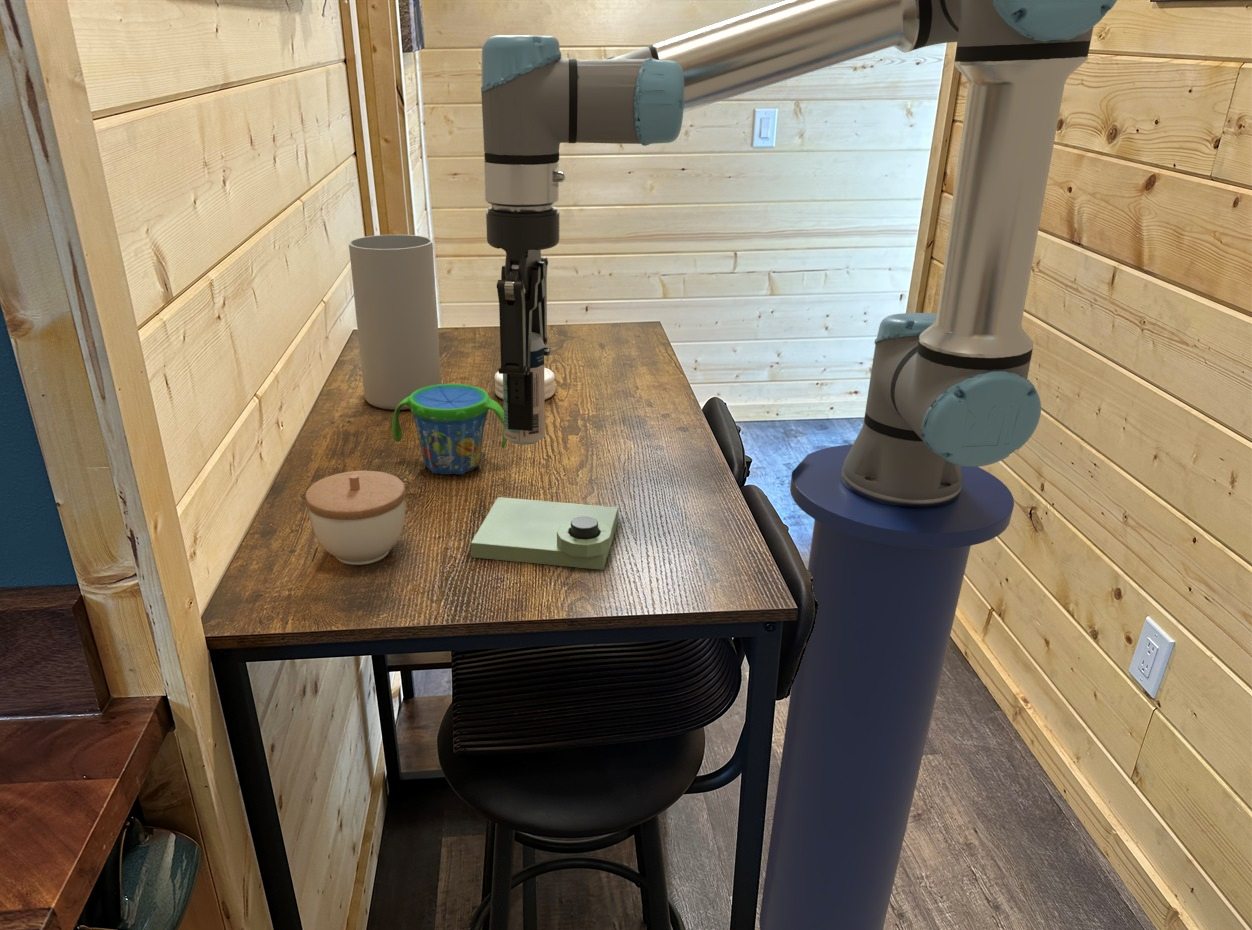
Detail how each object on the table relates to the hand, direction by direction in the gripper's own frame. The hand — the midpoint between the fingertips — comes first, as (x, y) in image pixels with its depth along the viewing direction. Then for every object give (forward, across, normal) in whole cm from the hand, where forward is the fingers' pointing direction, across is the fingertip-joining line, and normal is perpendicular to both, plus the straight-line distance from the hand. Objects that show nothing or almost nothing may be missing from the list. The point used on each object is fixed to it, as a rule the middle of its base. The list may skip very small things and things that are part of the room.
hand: (526, 419), depth 103 cm
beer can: (+3, 0, 0) cm, 3 cm away
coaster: (+14, +46, +11) cm, 49 cm away
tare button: (+10, -7, -8) cm, 15 cm away
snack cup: (+14, +15, +14) cm, 25 cm away
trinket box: (+14, -10, +17) cm, 24 cm away
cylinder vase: (+14, +40, +30) cm, 52 cm away
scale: (+13, -3, -3) cm, 14 cm away
